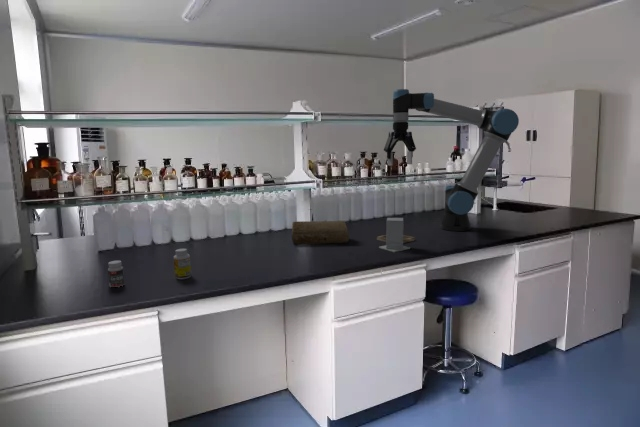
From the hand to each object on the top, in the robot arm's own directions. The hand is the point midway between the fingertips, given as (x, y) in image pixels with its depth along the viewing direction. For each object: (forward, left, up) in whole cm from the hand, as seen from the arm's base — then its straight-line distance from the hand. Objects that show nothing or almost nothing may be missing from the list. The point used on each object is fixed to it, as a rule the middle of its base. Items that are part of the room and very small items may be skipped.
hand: (399, 165), depth 214 cm
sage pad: (+25, +22, -35) cm, 48 cm away
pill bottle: (+134, 0, -35) cm, 138 cm away
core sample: (+44, -9, -35) cm, 57 cm away
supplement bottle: (+113, +5, -35) cm, 118 cm away
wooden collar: (+14, +11, -35) cm, 39 cm away
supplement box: (+25, +22, -34) cm, 48 cm away
